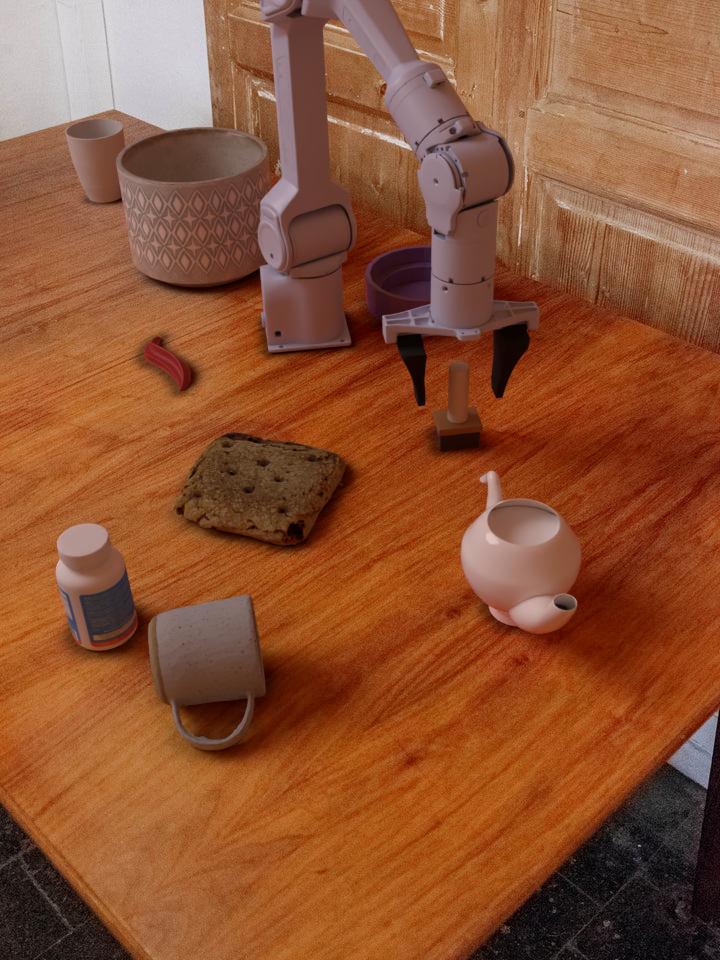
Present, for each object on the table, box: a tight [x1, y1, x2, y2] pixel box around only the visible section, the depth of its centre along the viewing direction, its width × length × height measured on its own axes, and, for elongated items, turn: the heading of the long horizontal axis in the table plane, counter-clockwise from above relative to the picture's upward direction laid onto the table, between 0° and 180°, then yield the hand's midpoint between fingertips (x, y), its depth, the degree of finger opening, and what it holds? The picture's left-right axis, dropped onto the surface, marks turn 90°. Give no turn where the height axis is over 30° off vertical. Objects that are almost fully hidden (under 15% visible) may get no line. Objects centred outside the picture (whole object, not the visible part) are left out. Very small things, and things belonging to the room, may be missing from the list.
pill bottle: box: [55, 522, 139, 652], centre depth 87 cm, size 6×5×10 cm
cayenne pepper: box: [143, 335, 192, 392], centre depth 122 cm, size 12×5×2 cm, turn 14°
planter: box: [116, 126, 273, 288], centre depth 139 cm, size 19×19×14 cm
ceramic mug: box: [147, 594, 267, 751], centre depth 82 cm, size 11×8×8 cm
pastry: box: [173, 431, 346, 547], centre depth 103 cm, size 17×17×3 cm
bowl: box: [364, 244, 431, 322], centre depth 131 cm, size 14×14×4 cm
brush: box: [431, 360, 484, 452], centre depth 107 cm, size 4×3×9 cm
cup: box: [64, 118, 126, 204], centre depth 158 cm, size 8×8×10 cm
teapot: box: [460, 470, 583, 635], centre depth 88 cm, size 10×20×9 cm, turn 12°
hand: (458, 396), depth 107 cm, fingers open, 7 cm apart
